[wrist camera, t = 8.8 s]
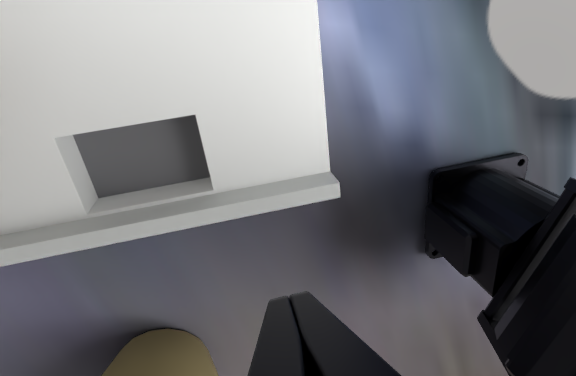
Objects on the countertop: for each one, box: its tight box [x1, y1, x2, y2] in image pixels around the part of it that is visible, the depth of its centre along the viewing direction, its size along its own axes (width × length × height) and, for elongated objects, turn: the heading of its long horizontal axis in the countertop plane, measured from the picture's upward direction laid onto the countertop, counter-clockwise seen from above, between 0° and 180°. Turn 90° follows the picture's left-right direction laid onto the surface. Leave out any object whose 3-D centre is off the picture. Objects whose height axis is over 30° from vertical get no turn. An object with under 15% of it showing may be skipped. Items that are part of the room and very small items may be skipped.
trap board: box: [0, 0, 341, 267], centre depth 13 cm, size 22×16×5 cm
